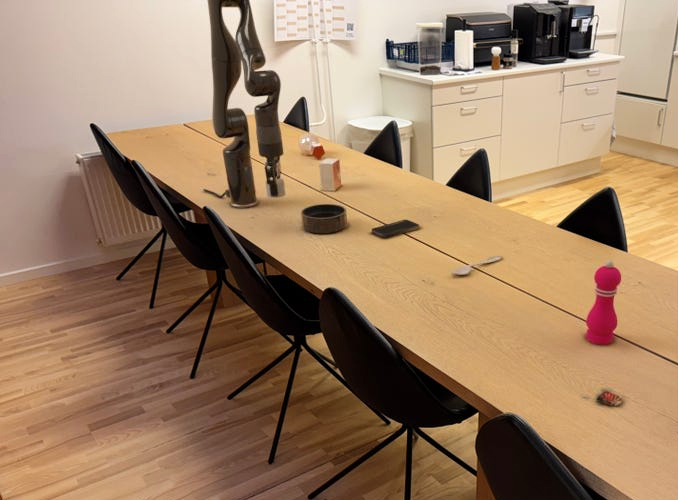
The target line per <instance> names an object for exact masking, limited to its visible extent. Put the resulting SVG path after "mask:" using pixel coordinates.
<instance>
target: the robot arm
mask: <svg viewBox="0 0 678 500" xmlns="http://www.w3.org/2000/svg"><path fill="white" fill-rule="evenodd" d="M207 8H208V16H209V17H208V19H209V26H210V51H211V52H210V55H211V73H212V113H211V115H212V116H211V117H212V118H211V120H212V128H213V131H214V133H215V135H216V136H217V138H219V139H222V140H223V139H231V138H233V140H232V142H230V143H229V144H228V145H226V146H224V148H223V149H222V157H223V162H224V169H225V174H226V175H225V176H226V183H227V189H225V190H224V191H225V192H223V193H222V194H221V195H220V194H218V193H217V192H215V191H212V190H210V189H206V188H203V190H202V191H204V192H206V193H209V194H212V195H214V196H215V197H217V198H220V199H221V198H224V197H226V198H228V199H229V200H230V206H231V207H233V208H237V209H238V208H239V209H245V208H251V207H254V206H256V205H258V198H257V189H256V185H255V184H256V183H255V178H254V177H255V176H254V170H253V164H252V157H251V156H252V155H251V141H250V140H251V139H250V128H249V121H248V117H247V115H246V112H245V111H244V110H243V109H242V108H240V107H233V108H228V106H229V102H230V97H231V95H232V93H233V91H234V89H235V88H236V86H237V84H238V83H239V81H240V79H241V76H242V71H243V81H244V89H245V91H246V93H247V94H248V95H249V96H250V97H252V98H259V97H266V100H265V101H264V102H262V103H259V104H256V105H255V106H254V109H253V110H254V111H253V112H254V119H255V120H254V121H255V128H256V129H255V134H256V141H257V148H258V155H259V156H260V157H262V158H266V161H265V162H264V171H265V172H264V173H265V177H266V178H265V179H266V180H267V184H269V185H270V193H271V196H277V195H278V189H277V178H279V179H281V178H282V177H281V176H282V168H281V167H282V166H281V157H282V156H283V155H284V145H283V144H284V143H283V135H282V129H281V125H280V119H279V101H280V95H281V88H282V82H281V77H280V76H279V74H278V73H277V71H275V70H272V69H268V70H260V69H261V68H263V67H264V66H265V65H266V63H267V58H266V55H265V53H264V50H263V46H262V44H261V41H260V39H259V35H258V32H257V29H256V25H255V20H254V15H253V10H252V6H251V2H250V0H207ZM223 8H237V9H238V11H239V13H240V14H239V22H238V25H237V28H236V32H235V36H234V37H235V38H234V37H233V35H232V34H231V32H230V30H229V29H228V27H227V25H226V23H225V19H224V16H223ZM242 69H243V70H242ZM270 179H273V180H270Z"/></svg>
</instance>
